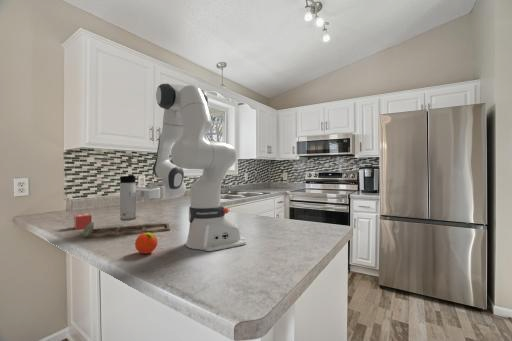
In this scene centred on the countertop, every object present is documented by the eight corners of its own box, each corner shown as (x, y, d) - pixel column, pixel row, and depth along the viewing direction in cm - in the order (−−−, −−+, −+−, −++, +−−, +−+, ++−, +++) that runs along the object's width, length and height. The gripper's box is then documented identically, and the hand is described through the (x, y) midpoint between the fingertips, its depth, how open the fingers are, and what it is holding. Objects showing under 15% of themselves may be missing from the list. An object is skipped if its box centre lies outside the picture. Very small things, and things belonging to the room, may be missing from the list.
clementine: (164, 252, 84) (164, 231, 84) (145, 258, 78) (145, 236, 78) (148, 248, 88) (148, 228, 88) (130, 254, 82) (130, 232, 82)
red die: (89, 225, 122) (89, 213, 122) (91, 227, 118) (91, 214, 118) (74, 227, 118) (74, 214, 118) (76, 229, 114) (75, 216, 114)
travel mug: (124, 221, 107) (124, 175, 107) (117, 219, 111) (117, 175, 111) (138, 219, 112) (138, 175, 112) (131, 217, 116) (131, 174, 116)
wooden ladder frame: (168, 225, 124) (168, 217, 124) (170, 230, 113) (170, 221, 113) (90, 231, 111) (90, 222, 111) (83, 238, 100) (83, 228, 100)
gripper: (143, 184, 128) (115, 185, 117) (166, 186, 116) (136, 188, 105) (144, 196, 128) (115, 199, 117) (166, 199, 116) (137, 202, 105)
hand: (125, 193), depth 111 cm, fingers closed on travel mug, 6 cm apart
